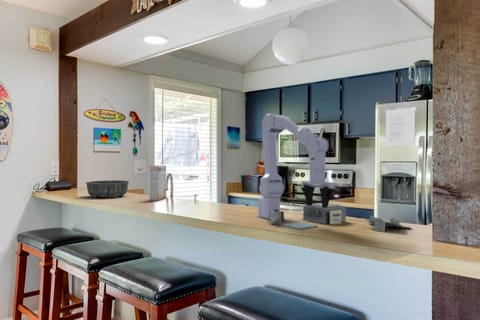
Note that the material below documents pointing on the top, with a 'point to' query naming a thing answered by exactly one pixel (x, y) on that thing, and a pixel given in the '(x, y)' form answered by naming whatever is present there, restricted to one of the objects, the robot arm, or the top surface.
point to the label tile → (335, 217)
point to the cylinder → (275, 217)
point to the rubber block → (282, 216)
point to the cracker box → (157, 182)
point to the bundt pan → (107, 188)
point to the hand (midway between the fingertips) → (317, 206)
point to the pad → (299, 225)
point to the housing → (322, 212)
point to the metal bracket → (384, 223)
